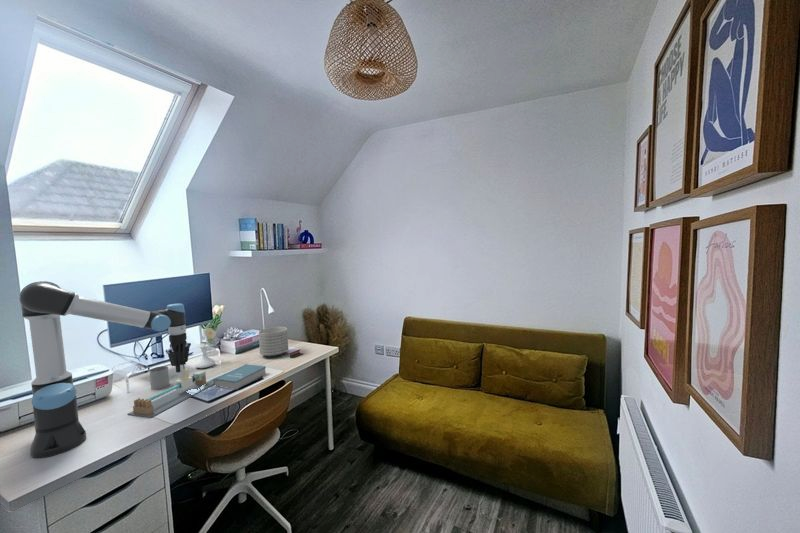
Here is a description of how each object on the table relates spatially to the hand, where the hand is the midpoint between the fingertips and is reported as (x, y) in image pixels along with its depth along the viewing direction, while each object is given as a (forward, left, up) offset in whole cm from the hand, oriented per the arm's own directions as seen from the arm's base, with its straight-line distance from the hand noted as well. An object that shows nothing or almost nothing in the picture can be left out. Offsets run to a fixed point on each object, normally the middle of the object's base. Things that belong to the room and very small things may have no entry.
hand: (180, 377), depth 169 cm
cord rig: (-4, 0, -9) cm, 10 cm away
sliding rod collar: (+2, 0, -6) cm, 6 cm away
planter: (+64, -11, -10) cm, 66 cm away
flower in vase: (+37, +21, -10) cm, 44 cm away
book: (+22, -18, -10) cm, 30 cm away
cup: (+6, +22, -10) cm, 25 cm away
